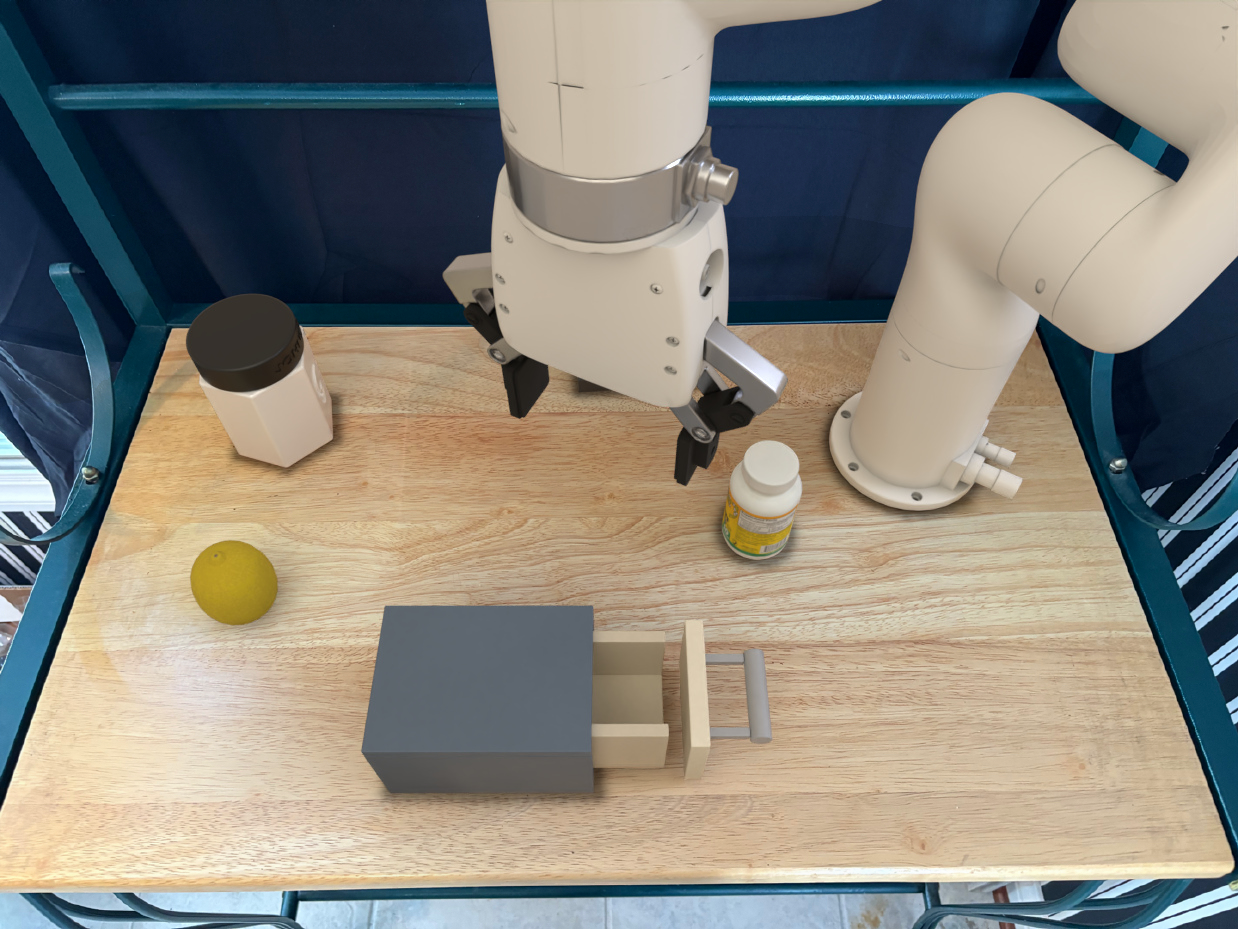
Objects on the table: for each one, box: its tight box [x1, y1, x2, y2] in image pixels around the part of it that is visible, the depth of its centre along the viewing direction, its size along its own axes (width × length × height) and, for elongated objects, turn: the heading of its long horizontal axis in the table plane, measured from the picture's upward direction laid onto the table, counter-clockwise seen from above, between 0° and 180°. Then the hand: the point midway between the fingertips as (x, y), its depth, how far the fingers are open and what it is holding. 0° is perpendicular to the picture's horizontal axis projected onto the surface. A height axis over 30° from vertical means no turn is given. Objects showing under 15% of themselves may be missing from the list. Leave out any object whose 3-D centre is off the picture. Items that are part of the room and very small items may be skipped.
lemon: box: [189, 539, 279, 626], centre depth 65 cm, size 6×6×8 cm
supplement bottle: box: [721, 439, 803, 561], centre depth 69 cm, size 5×5×10 cm
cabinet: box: [360, 605, 595, 794], centre depth 60 cm, size 14×10×9 cm
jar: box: [185, 293, 334, 469], centre depth 73 cm, size 9×8×12 cm
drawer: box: [592, 619, 773, 781], centre depth 60 cm, size 17×8×7 cm, turn 90°
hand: (609, 431), depth 49 cm, fingers open, 9 cm apart
